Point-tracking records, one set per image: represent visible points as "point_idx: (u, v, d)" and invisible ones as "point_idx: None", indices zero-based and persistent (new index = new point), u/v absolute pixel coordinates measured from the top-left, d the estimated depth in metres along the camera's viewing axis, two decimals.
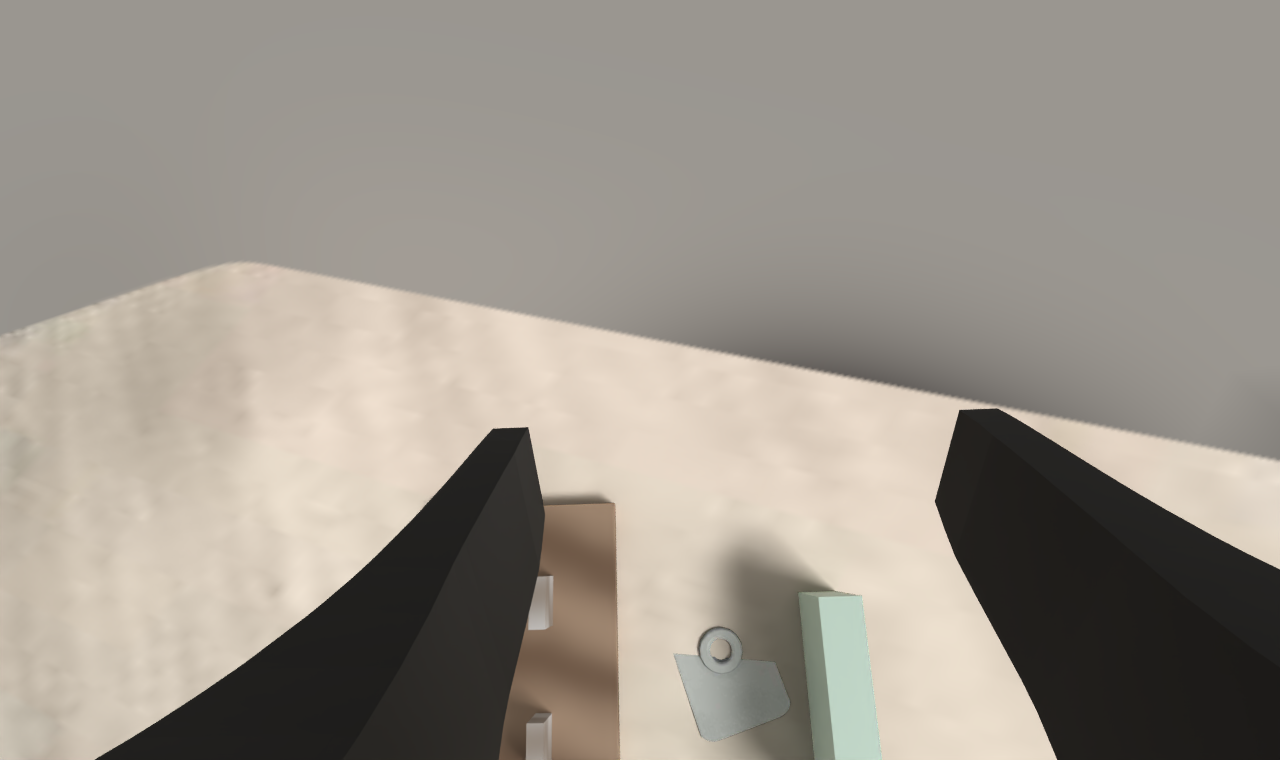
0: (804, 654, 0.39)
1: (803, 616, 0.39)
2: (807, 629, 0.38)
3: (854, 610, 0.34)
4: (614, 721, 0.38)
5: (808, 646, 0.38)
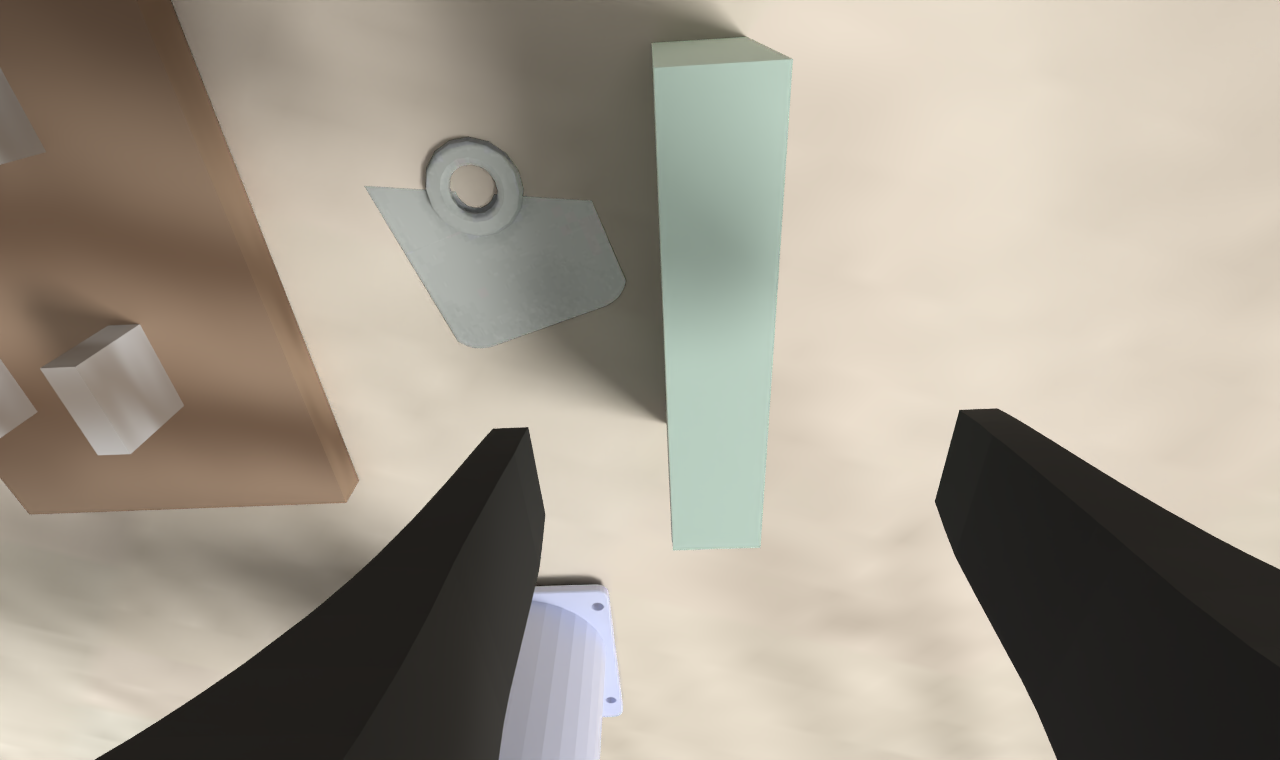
0: None
1: None
2: None
3: (760, 106, 0.11)
4: (269, 333, 0.19)
5: (657, 182, 0.16)
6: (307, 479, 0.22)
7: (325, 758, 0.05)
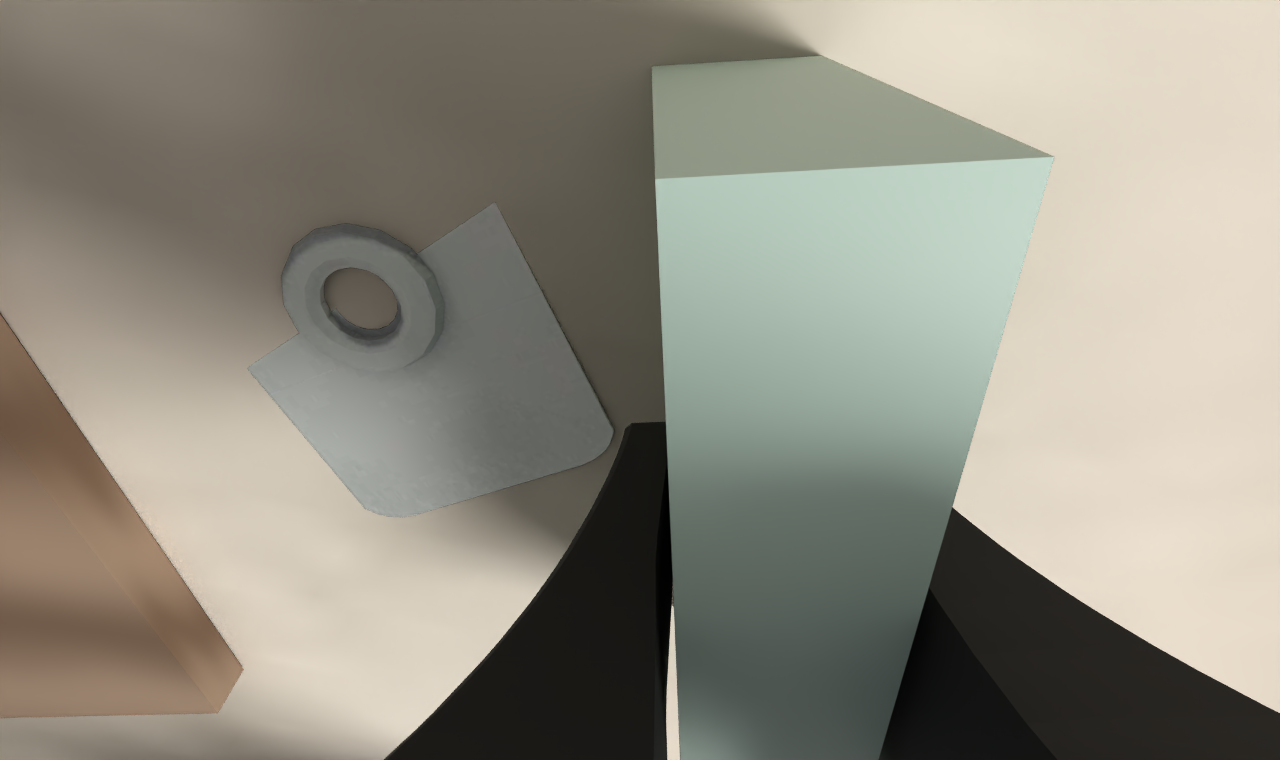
0: None
1: None
2: None
3: (942, 275, 0.04)
4: (57, 517, 0.12)
5: None
6: (157, 688, 0.15)
7: (635, 753, 0.04)
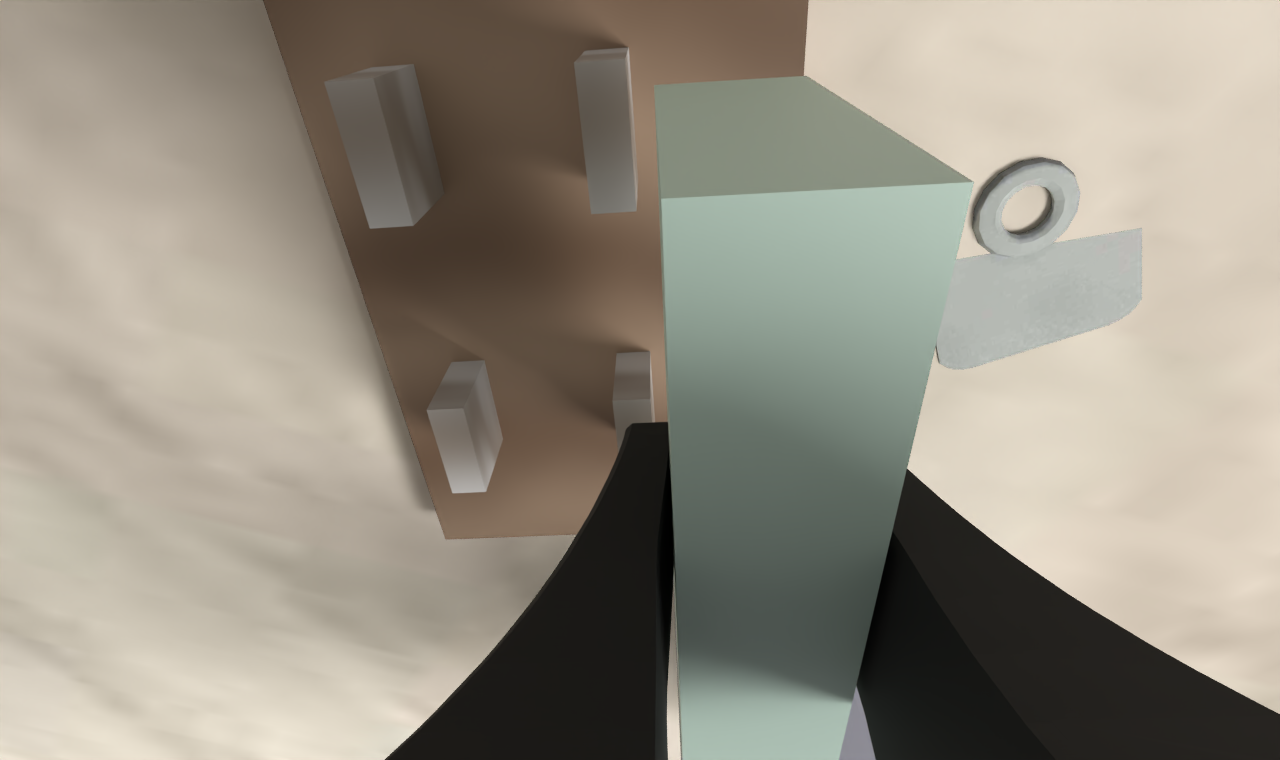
0: None
1: None
2: (662, 254, 0.09)
3: (890, 274, 0.05)
4: None
5: (663, 308, 0.10)
6: None
7: (637, 753, 0.04)
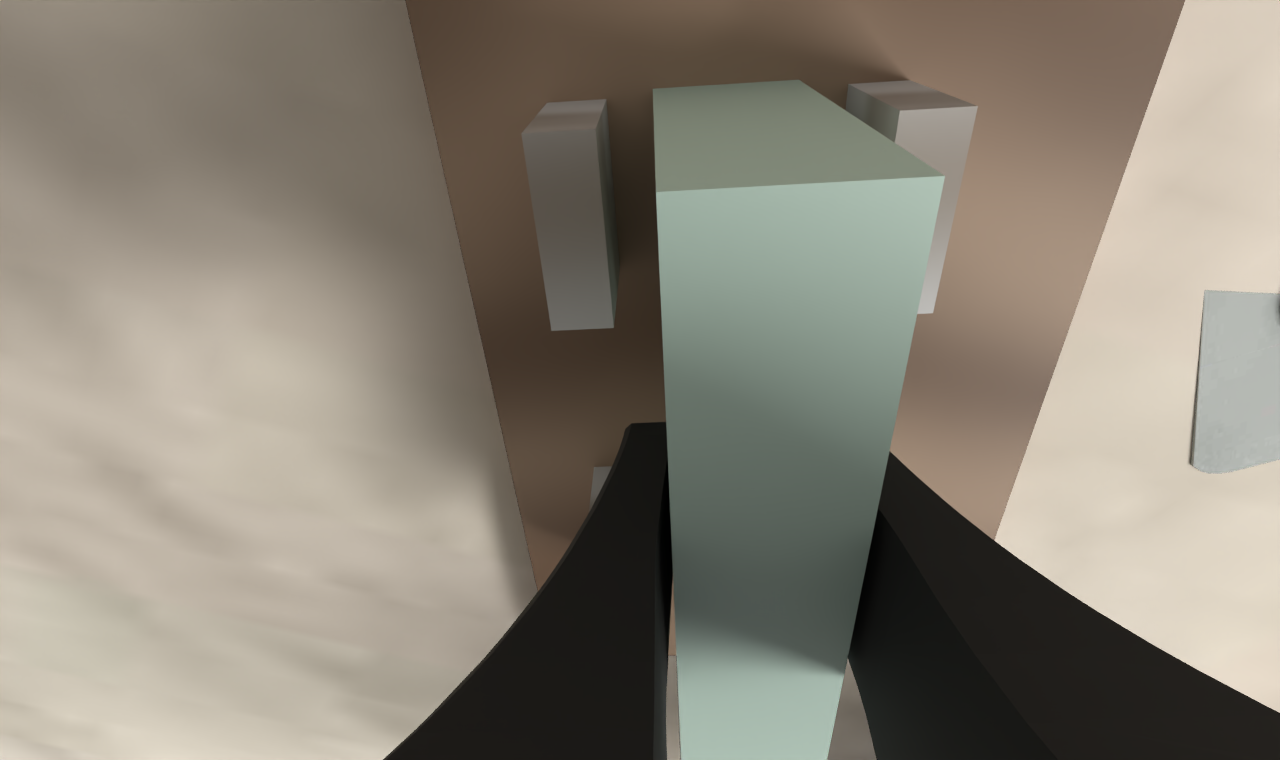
0: None
1: None
2: None
3: (868, 262, 0.06)
4: (1011, 469, 0.15)
5: None
6: None
7: (635, 752, 0.05)
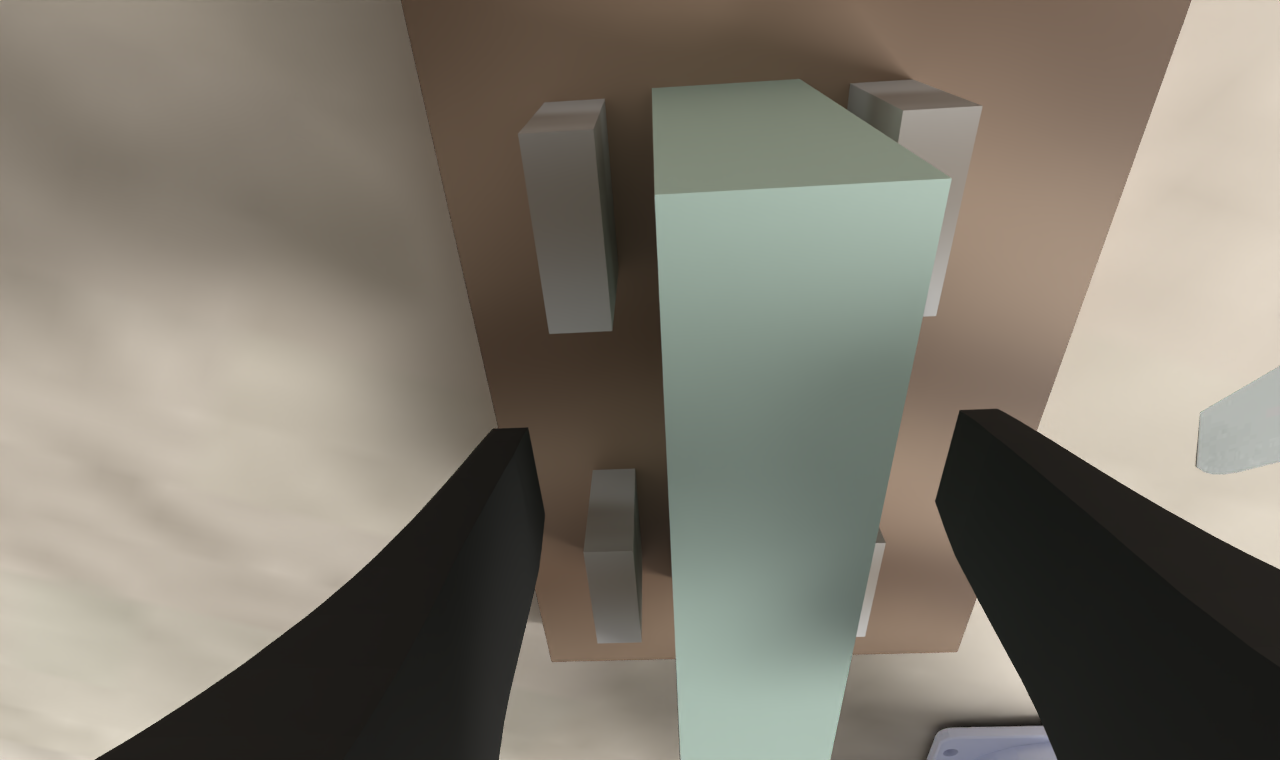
0: None
1: None
2: None
3: (873, 266, 0.05)
4: None
5: None
6: (928, 628, 0.18)
7: (325, 758, 0.05)
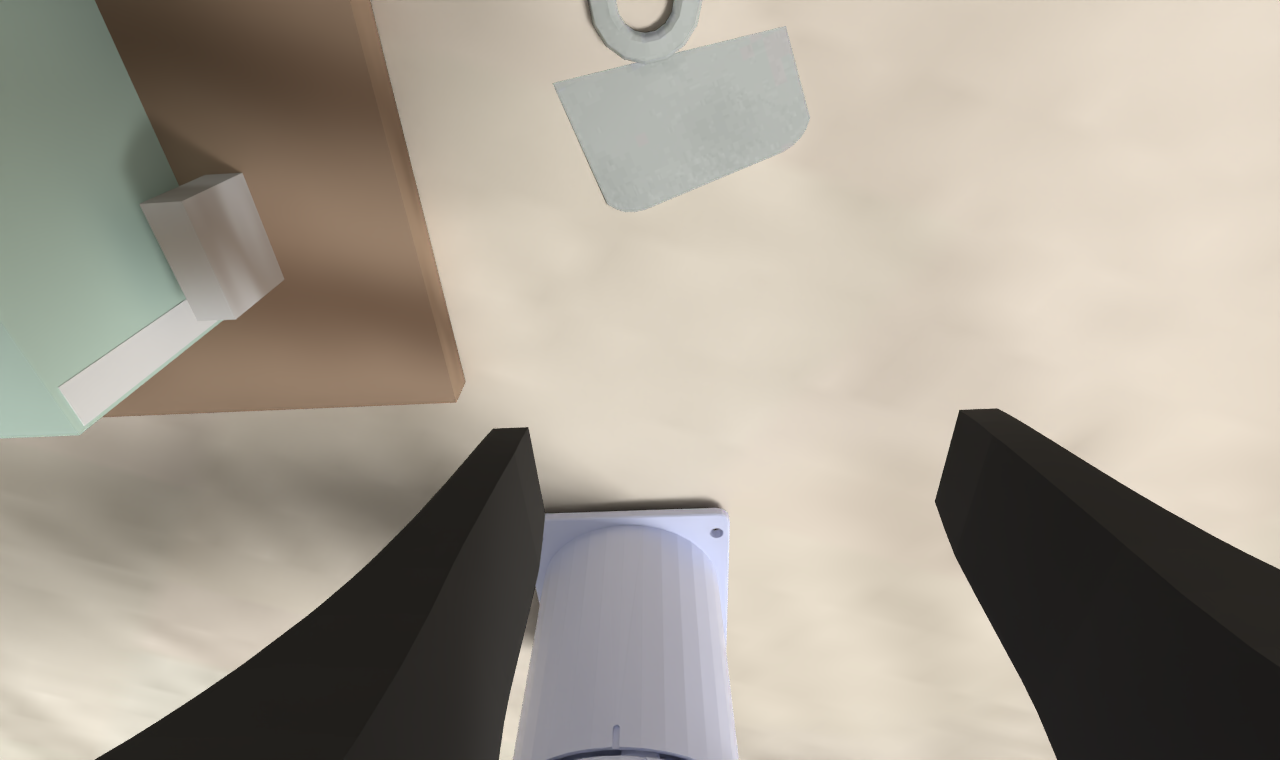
0: None
1: None
2: None
3: None
4: (391, 185, 0.16)
5: None
6: (416, 373, 0.20)
7: (325, 758, 0.05)
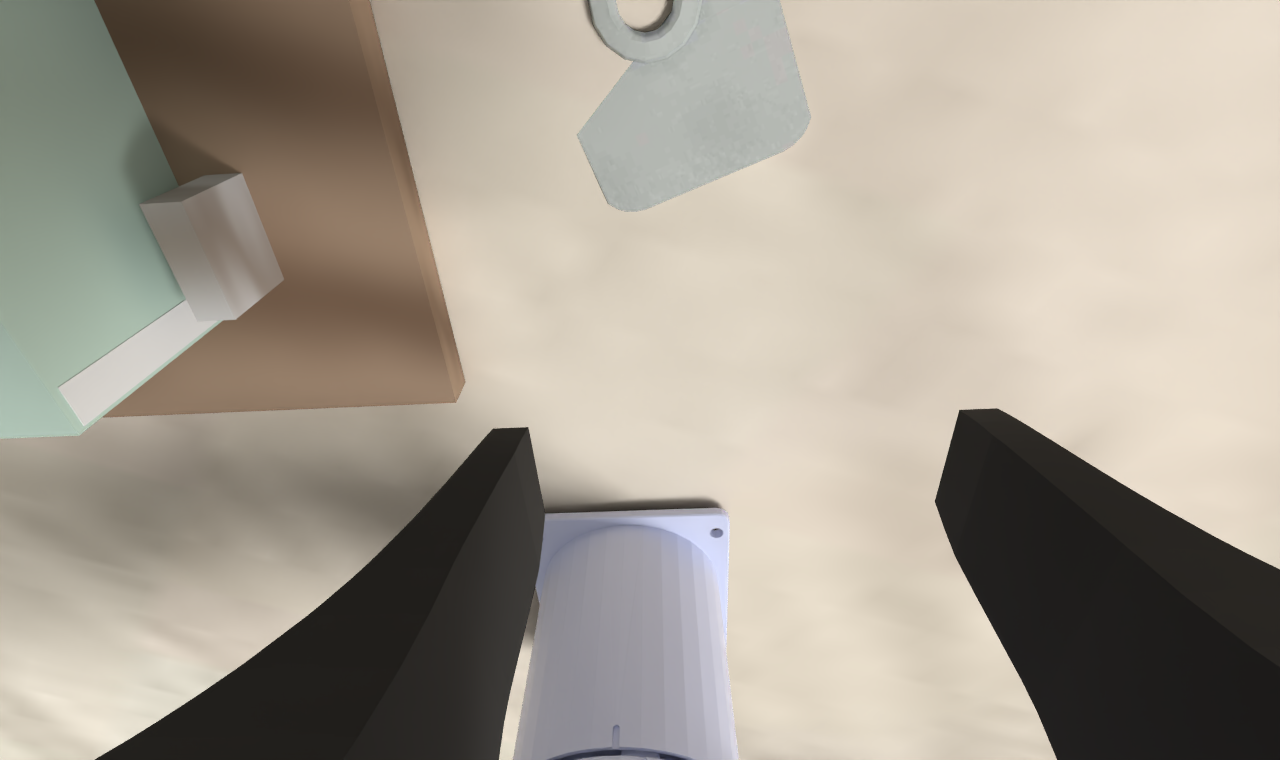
0: None
1: None
2: None
3: None
4: (391, 185, 0.16)
5: None
6: (415, 374, 0.20)
7: (324, 758, 0.05)
